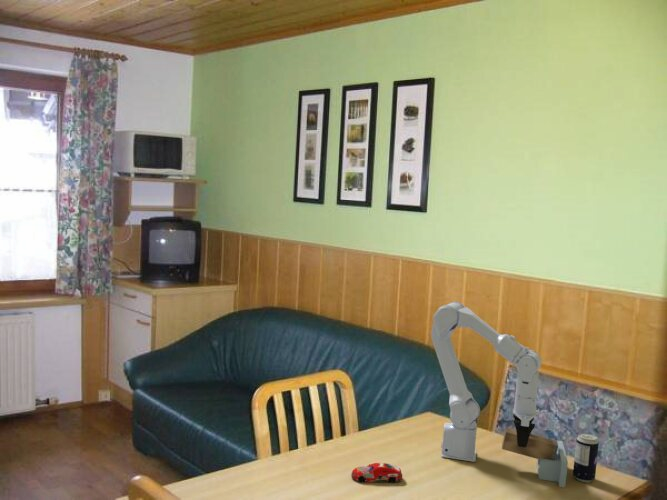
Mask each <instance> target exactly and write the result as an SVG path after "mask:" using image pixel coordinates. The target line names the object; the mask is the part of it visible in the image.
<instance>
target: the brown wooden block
mask: <svg viewBox="0 0 667 500" xmlns="http://www.w3.org/2000/svg"><path fill="white" fill-rule="evenodd" d="M557 441H558V440H554V439H550V438H547V437H543V436H539V435H534V434H530V436H529V439H528V443H527V446H526V447H519V446H518V443H517V432H516V429H515V428H514V429H513V428H510V427H505V431H504V435H503V440H502V443H501V447H502V448H501V449H502V450H504V451H508V452H511V453H515V454H518V455H523V456H525V457H529V458H532V459H536V460H538V459H539V460H540V458H542V459H548V460H555V458H556V454H557V450H558V443H557Z"/></svg>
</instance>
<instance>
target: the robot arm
mask: <svg viewBox="0 0 667 500" xmlns="http://www.w3.org/2000/svg"><path fill="white" fill-rule="evenodd" d="M432 319H433V323H432V327H431V331H430V332H431V333H430V338H431V342H432V344H433V347H434V348H433V349H434V350H435V353H436V356H437V360H438V363H439V366H440V370H441V372H442V375H443V378H444V381H445V384H446V387H447V390H448V393H449V399H448V400H449V402H448V406H449V410H450V413H449V418H450V421H451V422H444V425H443V434H442V442H441V446H440V448H441V454H440V455H441V457H442V458H447V459H454V460H460V461H467V462H473V463H475V462H476V458H477V457H476V456H477V451H476V442H477V430H478V429H477V428H478V425H477V421H476V419H477V418H478V417H479V416H480V414H481V408H480V405H479V404H478V402H477V401H476V400H475V399H474V397H473V394H472V393H471V392H470V390H469V389H468V387H467V383H466V382H465V379H464V378H465V377H464V374H463V372H462V370H461V366H460V362H459V360H458V356H457V354H456V351H455V348H454V345H453V341H452V338H451V337H452V335H453V333H454V331H455V330H456V328H464V329H465V328H469V329H471V330H472V331H473V332H475V333H476V334H478V335H479V336H481V337H483V338H484V339H485V340H487V341H488V342H490V343H492V345H493V349H494V351H495V352H497V354H499V355H500V356H502V357H503V359H506V361H508V362H510V364H512V365H515V369H516V370H517V377H516V382H515V383H516V384H515V386H516V387H515V396H514V407H513V410H512V416H513V425H514V427H515V428H514V429H515V430H516V432H517V443H518V446H519V447H526V446H527V443H528V439H529V436H530V434H531V433H532V432H533V430H534V428H535V427H536V423H533V422H534V419H535V417H541V416H540V415H541V413H540V412H539V411H537V410H536V409H537V400H538V389H539V373H540V372H539V369H540V368H541V366H542V363H543V361H542V357H541V355H540V354H539V353H538V352H537V351H535V350H533V349H530V347H528V346H524V345H523V344H522V343H520V342H519V341H517V340H516V337H515V336H514V335H513V334H511V335H509V334H506V333H505V334H500V333H499V332H498V331H497V330H495V329H494V328H493V327H492V326H490V324H489V323H487V322H485V320H484V319H482V318H481V317H479V316H478V315H477V314H476V313H474V311H473V310H471V309H470V308H469V307H467V306H464V304H462V303H461V302H458V301H452V302H449V303H447V304H444V305H442V306H440V307H438V309H437V310H436V311H435V313H434V315H433V318H432Z"/></svg>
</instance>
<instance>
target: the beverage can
mask: <svg viewBox="0 0 667 500" xmlns="http://www.w3.org/2000/svg"><path fill="white" fill-rule="evenodd" d="M598 438H599V437H597V436H596V435H594V434H591V433H585V432H582V433H578V436H577V437H576V440H575V441H576V442H575V449H574V451H575V452H574V460H573V469H572V470H573V471H572V475H573V476H574V478H575V479H576V480H577V481H578V482H582V483H591V482H593V481H594V480H595V479H596V474H597V473H596V472H597V465H598V463H597V462H598V455H599V443H600V442H599V440H598Z"/></svg>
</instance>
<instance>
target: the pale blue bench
mask: <svg viewBox="0 0 667 500" xmlns="http://www.w3.org/2000/svg"><path fill="white" fill-rule="evenodd" d="M556 441H557V443H558V450H557V454H556V458H555V460H548V459H542V458H540V460H539V459H536V460H537V462H536V468H537V476H538V480H543V481H544V480H545V481H550V482H557V483H558V487H559V488H564V489H565V488H566V482H567V473H568V472H567V471H568V465H569V464H568V461H569V460H568V457H567V453H566V449H565V446H564V442H563V440H556Z"/></svg>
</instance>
